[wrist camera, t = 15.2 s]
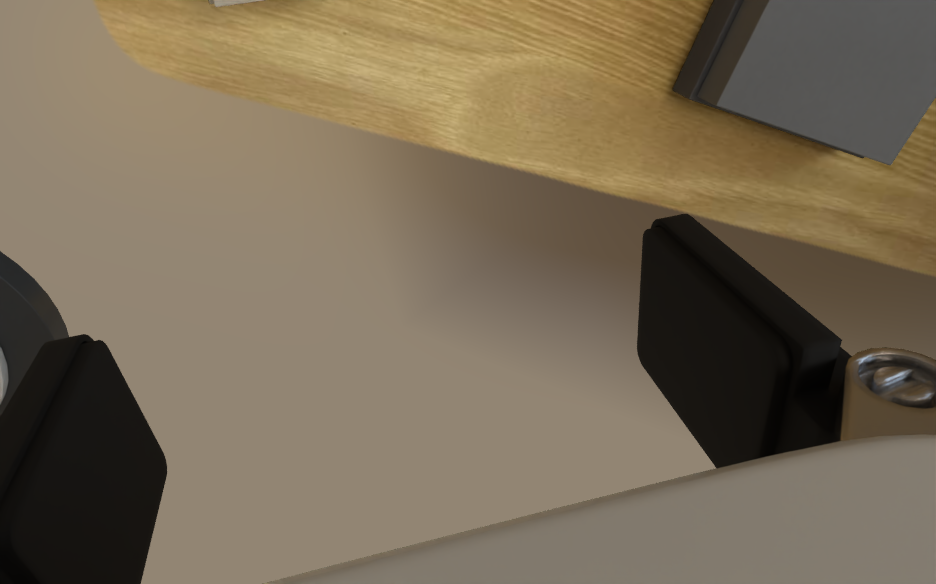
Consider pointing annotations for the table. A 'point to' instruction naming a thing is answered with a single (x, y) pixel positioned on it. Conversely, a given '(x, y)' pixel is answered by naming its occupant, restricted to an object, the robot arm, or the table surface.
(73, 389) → the robot arm
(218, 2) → the beige flat block
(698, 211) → the table surface
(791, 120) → the grey books
